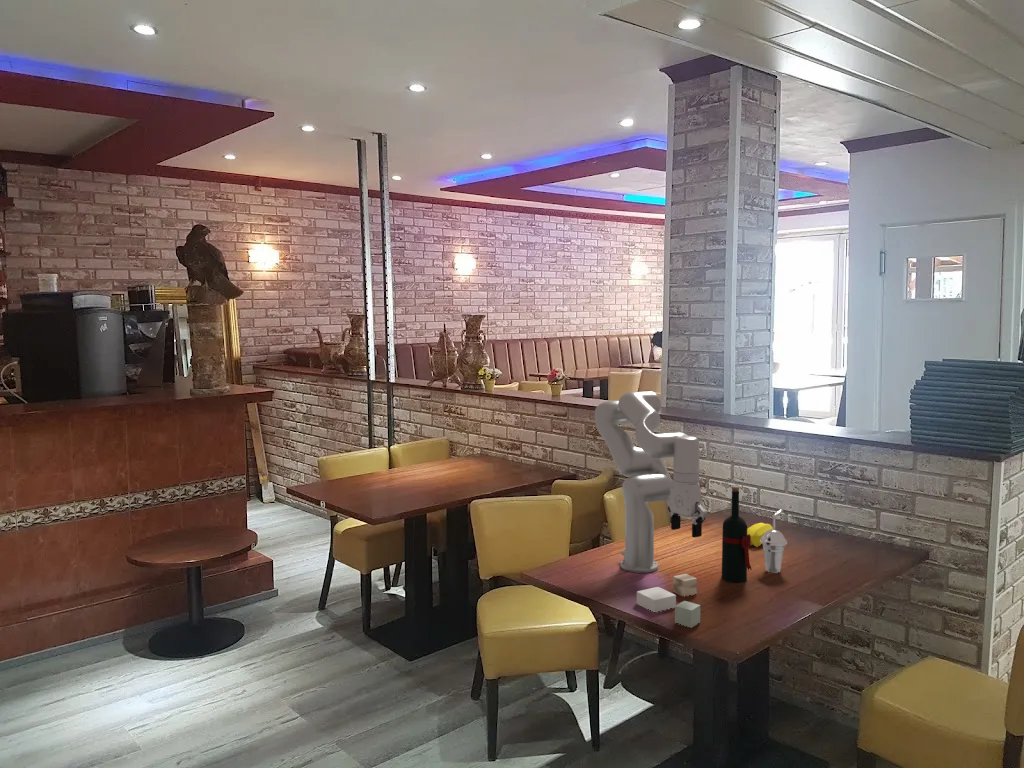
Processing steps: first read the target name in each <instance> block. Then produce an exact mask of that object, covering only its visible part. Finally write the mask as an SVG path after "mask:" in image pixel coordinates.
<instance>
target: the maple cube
mask: <svg viewBox="0 0 1024 768" xmlns="http://www.w3.org/2000/svg"><path fill="white" fill-rule="evenodd" d="M672 577H673V580H672V584H673V586H672V593H675V594H677V595H679V596H681V597H683V596H684V597H683V598H685V596H687V597H690V596H689V595H691V596H695V594H696V595H697V594H698V578H696V577H695V576H692V575H690V574H688V573H682V574H678V575H673V576H672Z"/></svg>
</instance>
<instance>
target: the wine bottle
mask: <svg viewBox="0 0 1024 768" xmlns="http://www.w3.org/2000/svg"><path fill="white" fill-rule="evenodd" d="M739 509H740V486H739V487H738V486H731V515H730V516H728V517H726V518H725V519H724V520H723V522H722V539H721V540H722V543H721V544H722V546H721V580H722V579H723V580H722V581H724V582H725V583H726V582H727V583H730V584H744V583H746V582H748V572H749V571H750V570H751V571H753V570H752V566H751V564H750V554H749V551H750V550H749V547H751V546H750V543H751V536H750V534H749V535H747V529H748V525H747V522H746V520H745V519H744V518H743V517H741V516H739V514H740V513H739V512H740V510H739Z"/></svg>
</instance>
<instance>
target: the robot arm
mask: <svg viewBox="0 0 1024 768" xmlns="http://www.w3.org/2000/svg"><path fill="white" fill-rule="evenodd" d="M661 400H662V399H660V396H659V395H658V394H657V393H656V392H654V391H648V390H644V391H631V392H626V393H624V394H622V395H621V396H620V397H619V399H618V400H607V401H603V402H601V403H599V404H598V405H596V407H595V409H594V410H595V411H594V421H595V426H596V430H597V431H598V433H599V434H600V436H601V438H602V439H603V441H604V442H605V444H606V446H607V447H608V450H609V453H610V455H611V457H612V460H613V462H614V465H615V466H616V469H617V471H618V472H619V474H621V476H625V477H626V476H627V477H626V478H625V479H624V480H623V483H622V484H621V485H622V486H621V491H622V496H623V502H624V519H625V520H624V522H625V525H624V527H625V528H624V529H625V530H624V531H625V532H624V534H625V535H624V547H625V548H624V550H621V551H620V555H622V556H623V560H621V561H620V568H621V569H622V570H624V571H627V572H632V573H640V574H643V573H653V572H655V571H656V570H658V569H659V564H658V562H657V561H656V560H654V558H655V557H654V556H655V555H654V552H655V551H654V547H655V545H654V544H655V543H654V542H655V540H654V539H655V538H654V537H655V526H654V525H655V524H654V523H655V521H654V520H655V519H654V518H655V517H654V513H653V511H652V509H651V508H650V507H649V505H648V504H649V503H654V502H663V501H666V505H667V510H668V512H669V516H670V530H672V531H675V530H680V529H681V516H682V517H685V518H691V521H692V524H691V537H692V538H699V537H702V534H703V533H702V531H703V529H702V528H703V526H702V524H704V521H705V520H706V517H707V515H708V511H707V510H706V508H704V507H703V503H702V502H703V500H702V490H701V484H700V441H699V438H697V437H695V436H693V435H687V434H686V433H684V432H680V431H679V432H678V431H677V432H665V433H663V432H662V433H654V431H655V430H656V429H657V428H658V427H659V425H660V423H661V415H660V412H661V409H662V401H661ZM627 424H632V425H634V427H635V432H634V433H635V440H636V443H637V446H636V445H635V444H634V443H633V442H634V441H632V438H631V436H630V434H629V433H627V431H626V430H624V429H623V428H621V427H620V426H619V425H627ZM638 446H639V447H638ZM663 458H664V459H665V458H673V478H672V477H671V475H670V473H669V470H668V469H667V466H666V464H665V462H664V460H663Z"/></svg>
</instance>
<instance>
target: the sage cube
mask: <svg viewBox="0 0 1024 768" xmlns="http://www.w3.org/2000/svg"><path fill="white" fill-rule="evenodd" d="M676 623H679V624H678V625H680V624H681V625H680V626H683V625H684V626H683V627H686V626H687V628H689V627H690V628H691V629H692V628H694V627H696V626H697V625H698V623H699V624H700V623H701V604H697V603H695V602H691V601H687V600H683V601H681V602H680V603H678V604H677V603H676V606H675V608H674V624H676ZM690 628H689V629H690Z"/></svg>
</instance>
